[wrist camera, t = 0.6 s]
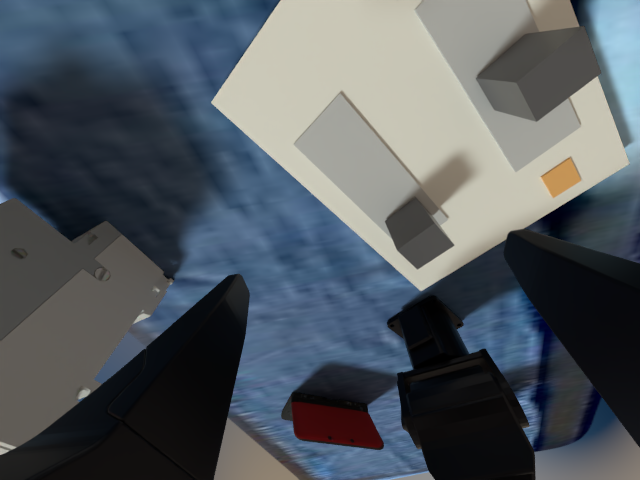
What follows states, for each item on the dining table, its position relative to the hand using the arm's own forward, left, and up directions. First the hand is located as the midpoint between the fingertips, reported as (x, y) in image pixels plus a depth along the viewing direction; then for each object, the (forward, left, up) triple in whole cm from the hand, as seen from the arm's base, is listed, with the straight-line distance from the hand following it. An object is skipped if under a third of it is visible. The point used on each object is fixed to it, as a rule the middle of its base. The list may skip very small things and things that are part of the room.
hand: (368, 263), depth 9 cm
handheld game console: (-27, +28, -14) cm, 42 cm away
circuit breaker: (+11, +22, -14) cm, 28 cm away
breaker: (-7, -1, -12) cm, 14 cm away
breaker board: (-3, -6, -14) cm, 15 cm away
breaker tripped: (-3, -11, -12) cm, 16 cm away
